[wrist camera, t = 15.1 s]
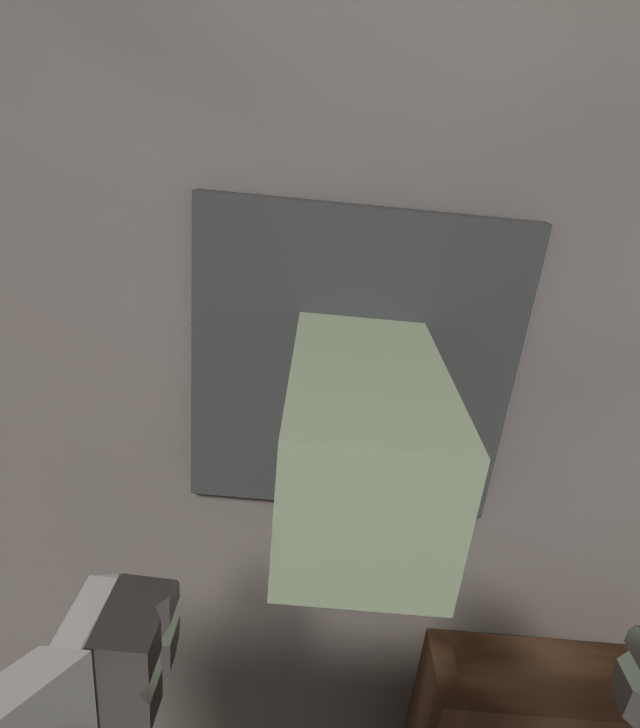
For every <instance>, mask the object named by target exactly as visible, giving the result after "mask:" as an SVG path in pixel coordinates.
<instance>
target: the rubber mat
mask: <svg viewBox="0 0 640 728" xmlns="http://www.w3.org/2000/svg"><path fill="white" fill-rule="evenodd" d="M551 229H552V224H550V223H547V222H541V221H530V220H520V219H509V218H499V217H488V216H478V215H467V214H457V213H446V212H436V211H425V210H415V209H404V208H394V207H383V206H373V205H362V204H352V203H341V202H331V201H320V200H310V199H299V198H289V197H278V196H268V195H257V194H247V193H236V192H226V191H215V190H205V189H194V190H192V379H191V493H194V494H206V495H218V496H230V497H241V498H253V499H265V500H274V496H275V482H276V468H277V453H278V440H279V434H280V428H281V422H282V416H283V410H284V404H285V398H286V392H287V386H288V380H289V374H290V368H291V362H292V356H293V350H294V344H295V338H296V332H297V326H298V320H299V314H300V312H307V313H318V314H329V315H340V316H351V317H362V318H373V319H384V320H395V321H406V322H417V323H425V324H426V326H427V328H428V330H429V332H430V334H431V336H432V338H433V341H434V343H435V345H436V347H437V349H438V351H439V353H440V355H441V357H442V359H443V361H444V364H445V366H446V368H447V370H448V372H449V374H450V376H451V378H452V380H453V382H454V384H455V387H456V389H457V391H458V393H459V395H460V397H461V399H462V401H463V403H464V405H465V407H466V409H467V412H468V414H469V416H470V418H471V420H472V422H473V424H474V426H475V428H476V430H477V432H478V435H479V437H480V439H481V441H482V443H483V445H484V447H485V449H486V451H487V453H488V455H489V458H490V464H489V468H488V472H487V477H486V481H485V485H484V489H483V493H482V497H481V502H480V506H479V510H478V514H477V518H481V514H482V510H483V506H484V502H485V498H486V494H487V490H488V486H489V482H490V478H491V474H492V470H493V465H494V461H495V457H496V453H497V449H498V445H499V441H500V437H501V433H502V429H503V425H504V421H505V416H506V412H507V408H508V404H509V400H510V396H511V392H512V388H513V384H514V380H515V376H516V372H517V367H518V363H519V359H520V355H521V351H522V347H523V343H524V339H525V335H526V331H527V327H528V323H529V318H530V314H531V310H532V306H533V302H534V298H535V294H536V290H537V286H538V282H539V278H540V274H541V270H542V265H543V261H544V257H545V253H546V249H547V245H548V241H549V237H550V233H551Z"/></svg>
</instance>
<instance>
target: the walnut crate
mask: <svg viewBox="0 0 640 728" xmlns="http://www.w3.org/2000/svg"><path fill="white" fill-rule="evenodd" d="M627 651H629V650H628V648H627V646H626V645H623V644H610V643H598V642H586V641H573V640H561V639H549V638H536V637H524V636H512V635H500V634H487V633H475V632H463V631H450V630H438V629H427V631H426V635H425V640H424V645H423V649H422V654H421V658H420V663H419V667H418V672H417V676H416V681H415V685H414V690H413V694H412V699H411V703H410V708H409V713H408V717H407V722H406V726H405V728H462V727H465V728H634V727H632V726H631V725H630V724H629V723H628V722H627V721H626V720H625V719H624V718H623V717H622V716H621V714H620V711H619V709H618V707H617V705H616V702H615V699H614V695H613V691H612V671H613V668H614V665H615V662H616V659H617V658H619V657H620V656H622V655H623V654H624V653H626V652H627Z"/></svg>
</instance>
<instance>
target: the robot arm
mask: <svg viewBox="0 0 640 728" xmlns="http://www.w3.org/2000/svg"><path fill="white" fill-rule="evenodd" d="M179 597H180V589H179V582H178V581H177V580H172V579H164V578H156V577H148V576H140V575H132V574H124V573H123V574H119V573H111V572H104V571H96V570H95V571H94V572H93V573H92V574H91V575H89V576H88V578H87V579H86V581H85V583H84V585H83V586H82V588H81V590H80V592H79V593H78V595H77V597H76V599H75V600H74V602H73V604H72V606H71V607H70V609H69V611H68V613H67V614H66V616H65V618H64V620H63V621H62V623H61V625H60V627H59V628H58V630H57V632H56V634H55V635H54V637H53V639H52V641H51V643H50V644H49V646H42V645H39V646H38V647H36V648H35V649H33V650H32V651H30V652H29V653H28V654H26V655H25V656H23V657H22V658H20V659H19V660H17V661H16V662H14V663H13V664H11V665H10V666H8V667H7V668H5V669H4V670H2V671H1V672H0V728H152V727H153V724H154V721H155V718H156V715H157V712H158V709H159V706H160V703H161V699H162V696H163V684H162V679H163V678H164V677H165V676H166V675H167V674H169V673H170V671H171V668H172V664H173V661H174V658H175V653H176V649H177V644H178V639H179V629H180V615H179V614H178V613H177V611H176V610H175V609H176V606H177V603H178V600H179ZM624 642H625V644H626V646H627V648H628V650H629V651H627V652H626V653H624V654H623V655H622V656H620V657H619V658H617V659H616V662H615V665H614V668H613V671H612V691H613V695H614V699H615V702H616V705H617V707H618V709H619V711H620V714H621V716H622V717H623V718H624V719H625V720H626V721H627V722H628V723H629V724H630V725H631V726H632V727H634V728H640V626H637V625H635V626H634V627H632V628H631V629H630V630H629V631H628V633H627V635H626V637H625V640H624Z"/></svg>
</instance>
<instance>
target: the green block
mask: <svg viewBox="0 0 640 728" xmlns="http://www.w3.org/2000/svg"><path fill="white" fill-rule="evenodd" d="M489 464H490V458H489V455H488V453H487V451H486V449H485V447H484V445H483V443H482V441H481V439H480V437H479V435H478V432H477V430H476V428H475V426H474V424H473V422H472V420H471V418H470V416H469V414H468V412H467V409H466V407H465V405H464V403H463V401H462V399H461V397H460V395H459V393H458V391H457V389H456V387H455V384H454V382H453V380H452V378H451V376H450V374H449V372H448V370H447V368H446V366H445V364H444V361H443V359H442V357H441V355H440V353H439V351H438V349H437V347H436V345H435V343H434V341H433V338H432V336H431V334H430V332H429V330H428V328H427V326H426V324H425V323H417V322H406V321H395V320H384V319H373V318H362V317H351V316H340V315H329V314H318V313H307V312H300V314H299V320H298V326H297V332H296V338H295V344H294V350H293V356H292V362H291V368H290V374H289V380H288V386H287V392H286V398H285V404H284V410H283V416H282V422H281V428H280V434H279V440H278V453H277V468H276V482H275V496H274V511H273V525H272V539H271V554H270V568H269V582H268V597H267V603H271V604H283V605H296V606H308V607H320V608H333V609H345V610H357V611H370V612H382V613H394V614H407V615H419V616H431V617H444V618H453V614H454V610H455V606H456V601H457V597H458V593H459V589H460V585H461V581H462V576H463V572H464V568H465V564H466V560H467V556H468V551H469V547H470V543H471V539H472V535H473V531H474V527H475V522H476V518H477V514H478V510H479V506H480V502H481V497H482V493H483V489H484V485H485V481H486V477H487V472H488V468H489Z"/></svg>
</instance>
